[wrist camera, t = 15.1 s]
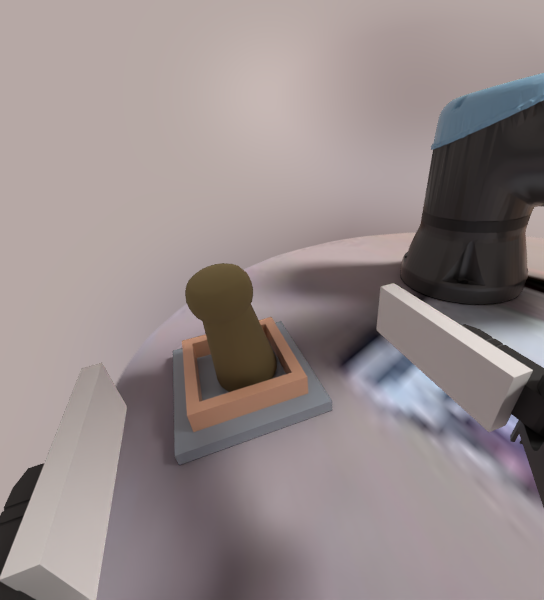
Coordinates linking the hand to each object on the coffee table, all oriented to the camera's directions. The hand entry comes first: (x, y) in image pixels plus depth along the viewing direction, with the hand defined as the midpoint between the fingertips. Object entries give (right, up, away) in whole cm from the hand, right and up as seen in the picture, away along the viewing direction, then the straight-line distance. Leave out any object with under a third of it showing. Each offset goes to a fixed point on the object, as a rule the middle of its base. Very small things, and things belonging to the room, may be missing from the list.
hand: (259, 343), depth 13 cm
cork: (-2, -5, +14) cm, 15 cm away
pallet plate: (-2, -6, +15) cm, 16 cm away
